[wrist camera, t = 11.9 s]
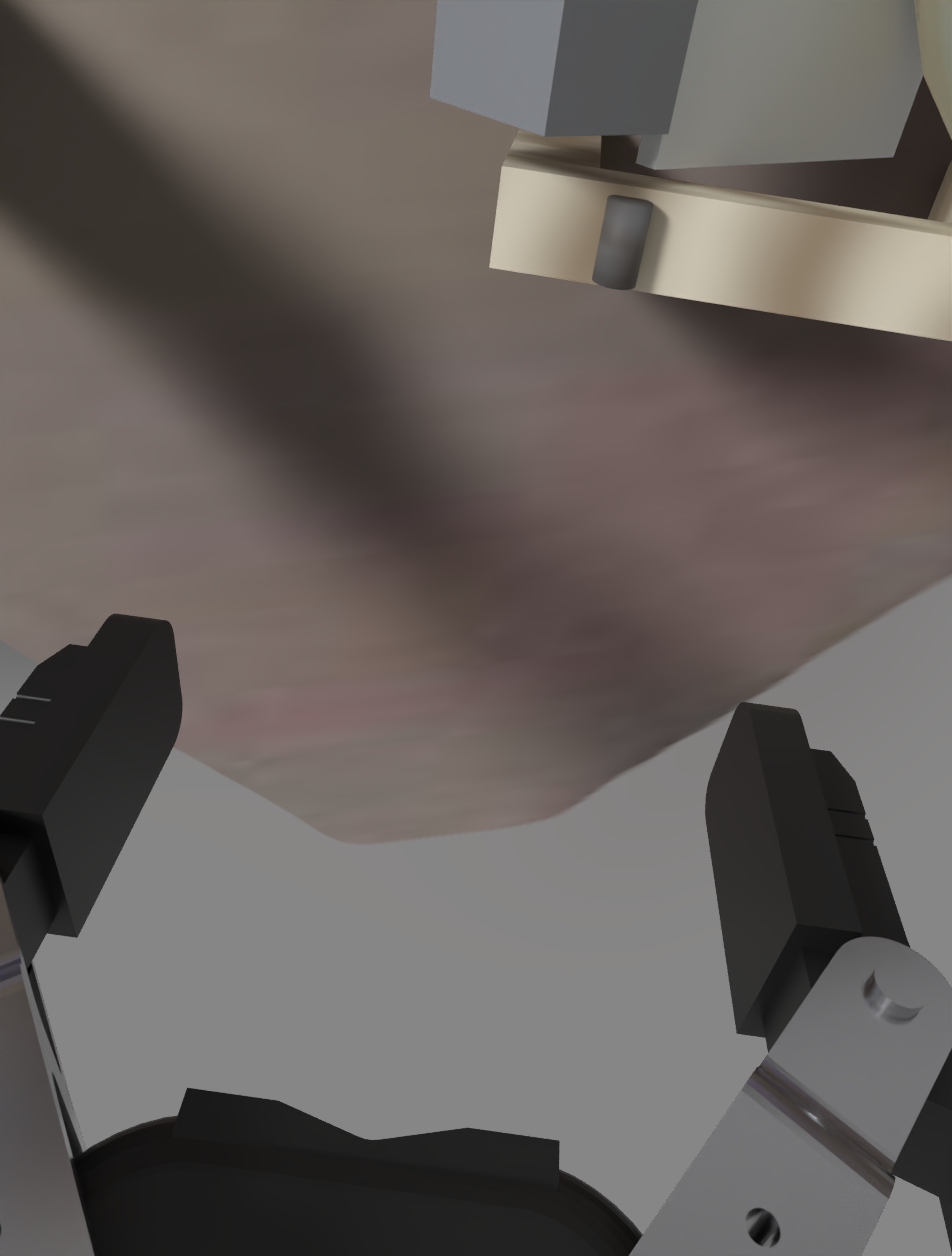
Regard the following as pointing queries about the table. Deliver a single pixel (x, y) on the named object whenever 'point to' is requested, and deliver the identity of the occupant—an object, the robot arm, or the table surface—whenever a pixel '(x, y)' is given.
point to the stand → (720, 242)
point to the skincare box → (937, 52)
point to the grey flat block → (688, 74)
